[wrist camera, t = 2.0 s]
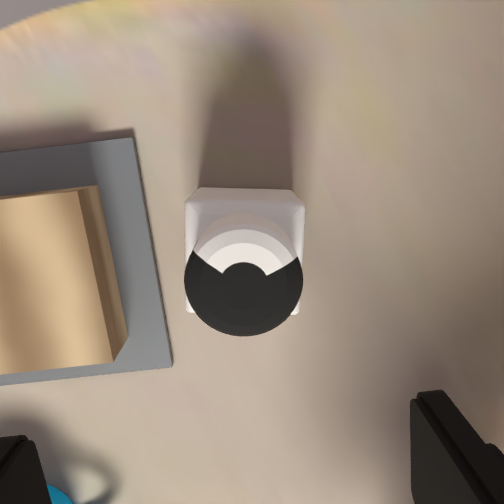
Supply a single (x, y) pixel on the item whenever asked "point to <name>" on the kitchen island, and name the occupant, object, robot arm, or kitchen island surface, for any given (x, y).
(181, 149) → the kitchen island surface
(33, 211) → the oak block
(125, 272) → the grey square mat
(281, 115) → the kitchen island surface
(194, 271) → the medicine bottle
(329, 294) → the kitchen island surface
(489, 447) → the robot arm
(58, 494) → the mug
